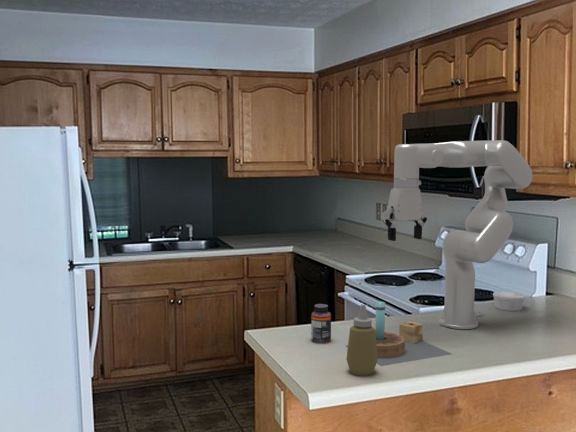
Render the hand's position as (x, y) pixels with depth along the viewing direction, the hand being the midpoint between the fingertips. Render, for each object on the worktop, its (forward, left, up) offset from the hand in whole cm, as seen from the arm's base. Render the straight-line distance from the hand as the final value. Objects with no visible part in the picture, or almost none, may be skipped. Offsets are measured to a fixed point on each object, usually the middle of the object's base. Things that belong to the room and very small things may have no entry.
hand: (404, 239), depth 193 cm
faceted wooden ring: (+16, +11, -30) cm, 36 cm away
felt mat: (+11, +13, -30) cm, 35 cm away
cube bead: (+2, +7, -30) cm, 31 cm away
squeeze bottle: (+30, +24, -31) cm, 49 cm away
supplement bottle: (+27, -4, -31) cm, 41 cm away
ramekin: (-56, -12, -31) cm, 65 cm away
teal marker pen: (+16, +11, -30) cm, 36 cm away
